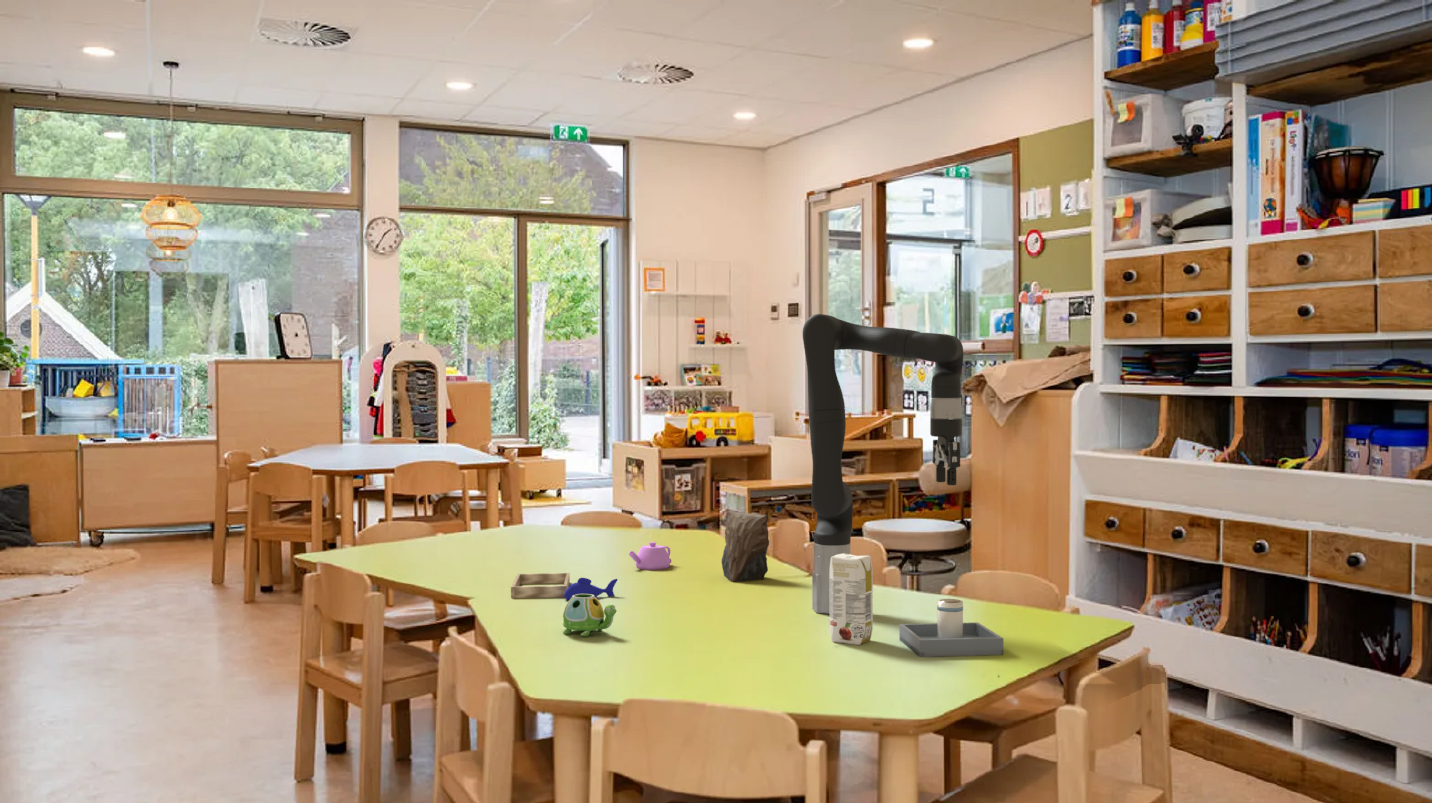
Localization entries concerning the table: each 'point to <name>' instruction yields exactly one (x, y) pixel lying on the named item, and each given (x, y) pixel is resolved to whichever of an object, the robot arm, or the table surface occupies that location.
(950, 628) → the cup
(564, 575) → the toy crate
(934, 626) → the tray
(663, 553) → the teapot
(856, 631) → the juice carton
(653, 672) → the table surface
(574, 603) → the turtle holder
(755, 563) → the bark-textured rock
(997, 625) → the table surface
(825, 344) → the robot arm
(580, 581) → the fish toy
